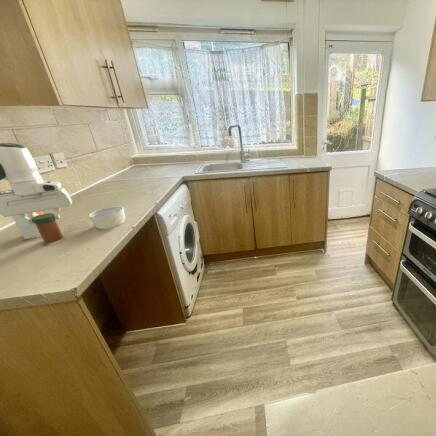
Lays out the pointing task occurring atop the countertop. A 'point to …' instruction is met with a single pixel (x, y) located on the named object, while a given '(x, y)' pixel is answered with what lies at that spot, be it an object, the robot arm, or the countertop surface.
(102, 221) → the ramekin
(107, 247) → the countertop surface
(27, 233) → the small box
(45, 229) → the jar
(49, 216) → the lid
